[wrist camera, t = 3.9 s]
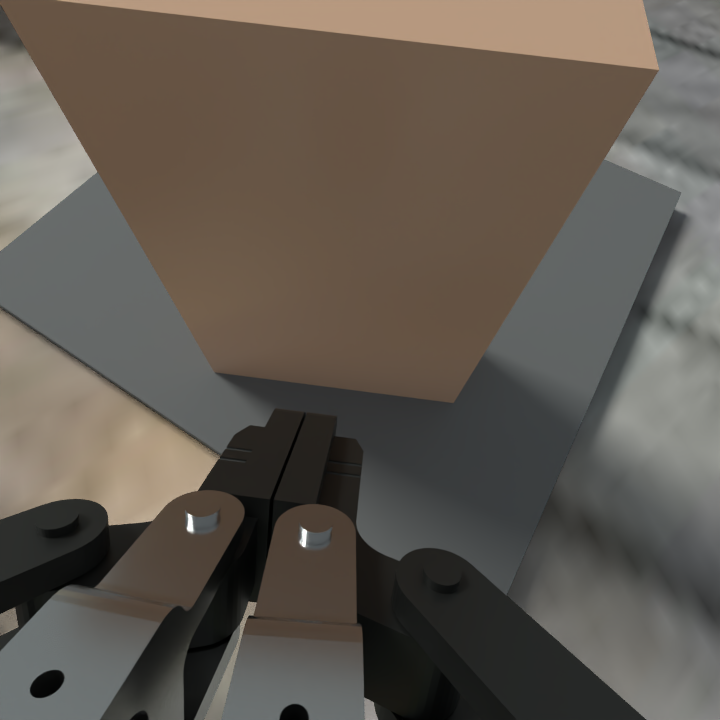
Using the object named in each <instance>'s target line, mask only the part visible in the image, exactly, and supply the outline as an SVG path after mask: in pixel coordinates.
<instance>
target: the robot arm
mask: <svg viewBox="0 0 720 720" xmlns="http://www.w3.org/2000/svg"><path fill="white" fill-rule="evenodd" d="M336 427H337V416H333V415H326V414H318V413H310V412H307V414H306V412H302V411H294V410H286V409H279V408H275V409H274V411H273V413H272V414H271V416H270V418H269V420H268V422H267V424H266V426H265V427H261V426H253V425H249V426H248V427H246V428H244V429H243V430H241V431H239V432H238V433H236V434H235V435H234V436H233V438H232V439H231V441H230V442H229V444H228V445H227V448H226V449H225V450H224V451H223V453H222V455H221V456H220V459H218V461H217V462H216V464H215V465H214V467H213V468H212V470H211V471H210V473H209V474H208V476H207V478H206V479H205V481H204V482H203V484H202V485H201V487H200V488H199V490H198V491H195V492H191V493H187V494H184V495H182V496H179V497H178V498H176V499H174V500H172V501H171V502H170V503H168V504H167V505H166V506H165V507H164V508H163V510H162V511H161V512H160V513H159V514H158V515H157V517H156V518H155V519H154V520H153V521H150V522H144V523H133V524H122V525H111V526H109V525H108V515H107V512H106V510H105V508H104V507H102V506H101V505H100V504H98V503H96V502H93V501H89V500H83V499H68V500H60V501H55V502H51V503H48V504H44V505H41V506H39V507H36V508H33V509H30V510H27V511H24V512H21V513H19V514H16V515H13V516H10V517H7V518H4V519H1V520H0V614H1V613H3V612H5V611H7V610H9V609H12V608H14V607H15V608H16V614H17V620H18V626H19V627H18V628H16V629H14V630H12V631H10V632H8V633H6V634H4V635H2V636H0V720H204V719H205V717H206V714H207V712H208V710H209V707H210V705H211V703H212V700H213V698H214V696H215V693H216V691H217V689H218V686H219V684H220V682H221V679H222V677H223V675H224V672H225V670H226V668H227V665H228V663H229V661H230V658H231V656H232V654H233V652H234V649H235V647H236V645H237V642H238V639H239V634H240V623H241V621H242V618H243V616H244V613H245V610H246V607H247V604H248V601H250V602H257V604H256V608H255V613H254V616H248V618H247V621H246V624H245V627H244V631H243V635H242V639H241V643H240V647H239V651H238V655H237V659H236V663H235V667H234V671H233V675H232V679H231V683H230V687H229V691H228V695H227V699H226V703H225V707H224V711H223V715H222V719H221V720H365V718H364V697H365V698H367V699H369V700H371V701H373V702H374V706H375V711H376V714H377V717H378V720H646V719H645V718H644V717H643V716H641V715H640V714H639V713H638V712H637V711H636V710H635V709H634V708H632V707H631V706H630V705H629V704H628V703H627V702H626V701H625V700H623V699H622V698H621V697H620V696H619V695H618V694H617V693H616V692H614V691H613V690H612V689H611V688H610V687H609V686H608V685H607V684H605V683H604V682H603V681H602V680H601V679H600V678H599V677H598V676H596V675H595V674H594V673H593V672H592V671H591V670H590V669H589V668H587V667H586V666H585V665H584V664H583V663H582V662H581V661H580V660H578V659H577V658H576V657H575V656H574V655H573V654H572V653H571V652H569V651H568V650H567V649H566V648H565V647H564V646H563V645H562V644H560V643H559V642H558V641H557V640H556V639H555V638H554V637H553V636H551V635H550V634H549V633H548V632H547V631H546V630H545V629H544V628H542V627H541V626H540V625H539V624H538V623H537V622H536V621H535V620H533V619H532V618H531V617H530V616H529V615H528V614H527V613H526V612H524V611H523V610H522V609H521V608H520V607H519V606H518V605H517V604H515V603H514V602H513V601H512V600H511V599H510V598H509V597H508V596H506V595H505V594H504V593H503V592H502V591H501V590H500V589H499V588H497V587H496V586H495V585H494V584H493V583H492V582H491V581H490V580H488V579H487V578H486V577H485V576H484V575H483V574H482V573H481V572H479V571H478V570H477V569H476V568H475V567H474V566H473V565H472V564H470V563H469V562H468V561H467V560H465V559H464V558H462V557H460V556H459V555H456V554H454V553H452V552H449V551H446V550H442V549H438V548H421V549H416V550H413V551H411V552H409V553H407V554H406V555H405V556H403V557H402V558H401V560H400V561H398V560H396V559H393V558H391V557H388V556H386V555H384V554H382V553H380V552H378V551H376V550H375V549H373V548H372V547H371V546H369V545H368V544H367V543H366V542H365V541H364V540H363V538H362V537H361V536H360V534H359V532H358V529H357V525H356V519H357V510H358V500H359V490H360V481H361V471H362V461H363V452H364V451H363V449H362V448H361V446H360V445H359V443H358V441H357V440H356V439H353V438H346V437H338V436H336Z"/></svg>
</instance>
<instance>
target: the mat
mask: <svg viewBox="0 0 720 720" xmlns="http://www.w3.org/2000/svg"><path fill="white" fill-rule="evenodd" d="M680 195H681V192H678V191H676V190H674V189H672V188H669V187H667V186H665V185H662V184H660V183H658V182H655V181H653V180H651V179H648V178H646V177H644V176H641V175H639V174H637V173H634V172H632V171H630V170H627V169H625V168H623V167H620V166H618V165H616V164H613V163H611V162H609V161H606V160H603V162H602V163H601V165H600V166H599V168H598V170H597V171H596V173H595V175H594V176H593V178H592V179H591V181H590V183H589V184H588V186H587V187H586V189H585V191H584V192H583V194H582V196H581V197H580V199H579V200H578V202H577V204H576V205H575V207H574V209H573V210H572V212H571V213H570V215H569V217H568V218H567V220H566V222H565V223H564V225H563V226H562V228H561V230H560V231H559V233H558V235H557V236H556V238H555V239H554V241H553V243H552V244H551V246H550V247H549V249H548V251H547V252H546V254H545V256H544V257H543V259H542V260H541V262H540V264H539V265H538V267H537V269H536V270H535V272H534V273H533V275H532V277H531V278H530V280H529V282H528V283H527V285H526V286H525V288H524V290H523V291H522V293H521V294H520V296H519V298H518V299H517V301H516V303H515V304H514V306H513V307H512V309H511V311H510V312H509V314H508V316H507V317H506V319H505V320H504V322H503V324H502V325H501V327H500V329H499V330H498V332H497V333H496V335H495V337H494V338H493V340H492V341H491V343H490V345H489V346H488V348H487V350H486V351H485V353H484V354H483V356H482V358H481V359H480V361H479V363H478V364H477V366H476V367H475V369H474V371H473V372H472V374H471V376H470V377H469V379H468V380H467V382H466V384H465V385H464V387H463V388H462V390H461V392H460V393H459V395H458V397H457V398H456V400H455V401H454V403H449V402H441V401H434V400H426V399H418V398H410V397H403V396H395V395H387V394H379V393H371V392H364V391H356V390H348V389H340V388H333V387H325V386H317V385H309V384H301V383H294V382H286V381H278V380H270V379H263V378H255V377H247V376H239V375H232V374H224V373H216V372H214V371H213V369H212V368H211V366H210V364H209V362H208V361H207V359H206V357H205V356H204V354H203V352H202V350H201V349H200V347H199V345H198V344H197V342H196V340H195V338H194V337H193V335H192V333H191V331H190V330H189V328H188V326H187V325H186V323H185V321H184V319H183V318H182V316H181V314H180V313H179V311H178V309H177V307H176V306H175V304H174V302H173V301H172V299H171V297H170V295H169V294H168V292H167V290H166V288H165V287H164V285H163V283H162V282H161V280H160V278H159V276H158V275H157V273H156V271H155V270H154V268H153V266H152V264H151V263H150V261H149V259H148V258H147V256H146V254H145V252H144V251H143V249H142V247H141V245H140V244H139V242H138V240H137V239H136V237H135V235H134V233H133V232H132V230H131V228H130V227H129V225H128V223H127V221H126V220H125V218H124V216H123V215H122V213H121V211H120V209H119V208H118V206H117V204H116V202H115V201H114V199H113V197H112V196H111V194H110V192H109V190H108V189H107V187H106V185H105V184H104V182H103V180H102V178H101V177H100V175H99V173H98V172H97V173H96V174H95V175H93V176H92V177H91V178H90V179H89V180H87V181H86V182H85V183H84V184H82V185H81V186H80V187H79V188H78V189H76V190H75V191H74V192H73V193H71V194H70V195H69V196H68V197H66V198H65V199H64V200H63V201H62V202H60V203H59V204H58V205H57V206H55V207H54V208H53V209H52V210H51V211H49V212H48V213H47V214H46V215H44V216H43V217H42V218H41V219H39V220H38V221H37V222H36V223H35V224H33V225H32V226H31V227H30V228H28V229H27V230H26V231H25V232H24V233H22V234H21V235H20V236H19V237H17V238H16V239H15V240H14V241H12V242H11V243H10V244H9V245H8V246H6V247H5V248H4V249H3V250H1V251H0V307H1V308H2V309H4V310H5V311H6V312H8V313H9V314H11V315H12V316H14V317H15V318H17V319H18V320H20V321H21V322H23V323H24V324H26V325H27V326H29V327H30V328H32V329H33V330H35V331H36V332H38V333H39V334H41V335H42V336H44V337H45V338H47V339H48V340H49V341H51V342H52V343H54V344H55V345H57V346H58V347H60V348H61V349H63V350H64V351H66V352H67V353H69V354H70V355H72V356H73V357H75V358H76V359H78V360H79V361H81V362H82V363H84V364H85V365H87V366H88V367H90V368H91V369H92V370H94V371H95V372H97V373H98V374H100V375H101V376H103V377H104V378H106V379H107V380H109V381H110V382H112V383H113V384H115V385H116V386H118V387H119V388H121V389H122V390H124V391H125V392H127V393H128V394H130V395H131V396H133V397H134V398H135V399H137V400H138V401H140V402H141V403H143V404H144V405H146V406H147V407H149V408H150V409H152V410H153V411H155V412H156V413H158V414H159V415H161V416H162V417H164V418H165V419H167V420H168V421H170V422H171V423H173V424H174V425H176V426H177V427H178V428H180V429H181V430H183V431H184V432H186V433H187V434H189V435H190V436H192V437H193V438H195V439H196V440H198V441H199V442H201V443H202V444H204V445H205V446H207V447H208V448H210V449H211V450H213V451H214V452H216V453H217V454H219V455H220V456H221V455H222V453H223V451H224V450H225V449H226V448H227V445H228V444H229V442H230V441H231V439H232V438H233V436H234V435H235V434H236V433H238V432H239V431H241V430H243V429H244V428H246V427H248V426H249V425H253V426H261V427H265V426H266V424H267V422H268V420H269V418H270V416H271V414H272V413H273V411H274V409H275V408H279V409H286V410H294V411H302V412H306V414H307V412H310V413H318V414H326V415H333V416H337V427H336V436H338V437H346V438H353V439H356V440H357V441H358V443H359V445H360V446H361V448H362V449H363V451H364V452H363V461H362V471H361V481H360V490H359V500H358V510H357V519H356V525H357V529H358V532H359V534H360V536H361V537H362V538H363V540H364V541H365V542H366V543H367V544H368V545H369V546H371V547H372V548H373V549H375V550H376V551H378V552H380V553H382V554H384V555H386V556H388V557H391V558H393V559H396V560H398V561H400V560H401V558H402V557H403V556H405V555H406V554H407V553H409V552H411V551H413V550H416V549H421V548H438V549H442V550H446V551H449V552H452V553H454V554H456V555H459V556H460V557H462V558H464V559H465V560H467V561H468V562H469V563H470V564H472V565H473V566H474V567H475V568H476V569H477V570H478V571H479V572H481V573H482V574H483V575H484V576H485V577H486V578H487V579H488V580H490V581H491V582H492V583H493V584H494V585H495V586H496V587H497V588H499V589H500V590H501V591H502V592H503V593H504V594H505V595H506V596H507V594H508V591H509V589H510V587H511V584H512V582H513V580H514V577H515V575H516V573H517V570H518V568H519V566H520V564H521V561H522V559H523V557H524V554H525V552H526V550H527V547H528V545H529V543H530V541H531V538H532V536H533V534H534V531H535V529H536V527H537V524H538V522H539V520H540V517H541V515H542V513H543V511H544V508H545V506H546V504H547V501H548V499H549V497H550V494H551V492H552V490H553V488H554V485H555V483H556V481H557V478H558V476H559V474H560V471H561V469H562V467H563V465H564V462H565V460H566V458H567V455H568V453H569V451H570V448H571V446H572V444H573V441H574V439H575V437H576V435H577V432H578V430H579V428H580V425H581V423H582V421H583V418H584V416H585V414H586V412H587V409H588V407H589V405H590V402H591V400H592V398H593V395H594V393H595V391H596V388H597V386H598V384H599V382H600V379H601V377H602V375H603V372H604V370H605V368H606V365H607V363H608V361H609V359H610V356H611V354H612V352H613V349H614V347H615V345H616V342H617V340H618V338H619V336H620V333H621V331H622V329H623V326H624V324H625V322H626V319H627V317H628V315H629V312H630V310H631V308H632V306H633V303H634V301H635V299H636V296H637V294H638V292H639V289H640V287H641V285H642V283H643V280H644V278H645V276H646V273H647V271H648V269H649V266H650V264H651V262H652V259H653V257H654V255H655V253H656V250H657V248H658V246H659V243H660V241H661V239H662V236H663V234H664V232H665V230H666V227H667V225H668V223H669V220H670V218H671V216H672V213H673V211H674V209H675V206H676V204H677V202H678V200H679V197H680Z"/></svg>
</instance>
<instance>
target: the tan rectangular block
mask: <svg viewBox="0 0 720 720" xmlns="http://www.w3.org/2000/svg"><path fill="white" fill-rule="evenodd" d="M0 5H1V6H2V8H3V10H4V12H5V13H6V15H7V17H8V18H9V20H10V22H11V24H12V25H13V27H14V29H15V31H16V32H17V34H18V36H19V37H20V39H21V41H22V43H23V44H24V46H25V48H26V49H27V51H28V53H29V55H30V56H31V58H32V60H33V61H34V63H35V65H36V67H37V68H38V70H39V72H40V73H41V75H42V77H43V79H44V80H45V82H46V84H47V86H48V87H49V89H50V91H51V92H52V94H53V96H54V98H55V99H56V101H57V103H58V104H59V106H60V108H61V110H62V111H63V113H64V115H65V116H66V118H67V120H68V122H69V123H70V125H71V127H72V129H73V130H74V132H75V134H76V135H77V137H78V139H79V141H80V142H81V144H82V146H83V147H84V149H85V151H86V153H87V154H88V156H89V158H90V159H91V161H92V163H93V165H94V166H95V168H96V170H97V172H98V173H99V175H100V177H101V178H102V180H103V182H104V184H105V185H106V187H107V189H108V190H109V192H110V194H111V196H112V197H113V199H114V201H115V202H116V204H117V206H118V208H119V209H120V211H121V213H122V215H123V216H124V218H125V220H126V221H127V223H128V225H129V227H130V228H131V230H132V232H133V233H134V235H135V237H136V239H137V240H138V242H139V244H140V245H141V247H142V249H143V251H144V252H145V254H146V256H147V258H148V259H149V261H150V263H151V264H152V266H153V268H154V270H155V271H156V273H157V275H158V276H159V278H160V280H161V282H162V283H163V285H164V287H165V288H166V290H167V292H168V294H169V295H170V297H171V299H172V301H173V302H174V304H175V306H176V307H177V309H178V311H179V313H180V314H181V316H182V318H183V319H184V321H185V323H186V325H187V326H188V328H189V330H190V331H191V333H192V335H193V337H194V338H195V340H196V342H197V344H198V345H199V347H200V349H201V350H202V352H203V354H204V356H205V357H206V359H207V361H208V362H209V364H210V366H211V368H212V369H213V371H214V372H216V373H224V374H232V375H239V376H247V377H255V378H263V379H270V380H278V381H286V382H294V383H301V384H309V385H317V386H325V387H333V388H340V389H348V390H356V391H364V392H371V393H379V394H387V395H395V396H403V397H410V398H418V399H426V400H434V401H441V402H449V403H454V401H455V400H456V398H457V397H458V395H459V393H460V392H461V390H462V388H463V387H464V385H465V384H466V382H467V380H468V379H469V377H470V376H471V374H472V372H473V371H474V369H475V367H476V366H477V364H478V363H479V361H480V359H481V358H482V356H483V354H484V353H485V351H486V350H487V348H488V346H489V345H490V343H491V341H492V340H493V338H494V337H495V335H496V333H497V332H498V330H499V329H500V327H501V325H502V324H503V322H504V320H505V319H506V317H507V316H508V314H509V312H510V311H511V309H512V307H513V306H514V304H515V303H516V301H517V299H518V298H519V296H520V294H521V293H522V291H523V290H524V288H525V286H526V285H527V283H528V282H529V280H530V278H531V277H532V275H533V273H534V272H535V270H536V269H537V267H538V265H539V264H540V262H541V260H542V259H543V257H544V256H545V254H546V252H547V251H548V249H549V247H550V246H551V244H552V243H553V241H554V239H555V238H556V236H557V235H558V233H559V231H560V230H561V228H562V226H563V225H564V223H565V222H566V220H567V218H568V217H569V215H570V213H571V212H572V210H573V209H574V207H575V205H576V204H577V202H578V200H579V199H580V197H581V196H582V194H583V192H584V191H585V189H586V187H587V186H588V184H589V183H590V181H591V179H592V178H593V176H594V175H595V173H596V171H597V170H598V168H599V166H600V165H601V163H602V162H603V160H604V158H605V157H606V155H607V153H608V152H609V150H610V149H611V147H612V145H613V144H614V142H615V140H616V139H617V137H618V136H619V134H620V132H621V131H622V129H623V128H624V126H625V124H626V123H627V121H628V119H629V118H630V116H631V115H632V113H633V111H634V110H635V108H636V106H637V105H638V103H639V102H640V100H641V98H642V97H643V95H644V93H645V92H646V90H647V89H648V87H649V85H650V84H651V82H652V81H653V79H654V77H655V76H656V74H657V72H658V71H659V68H658V63H657V59H656V55H655V51H654V47H653V42H652V38H651V34H650V30H649V26H648V21H647V17H646V13H645V9H644V5H643V1H642V0H0Z"/></svg>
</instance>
